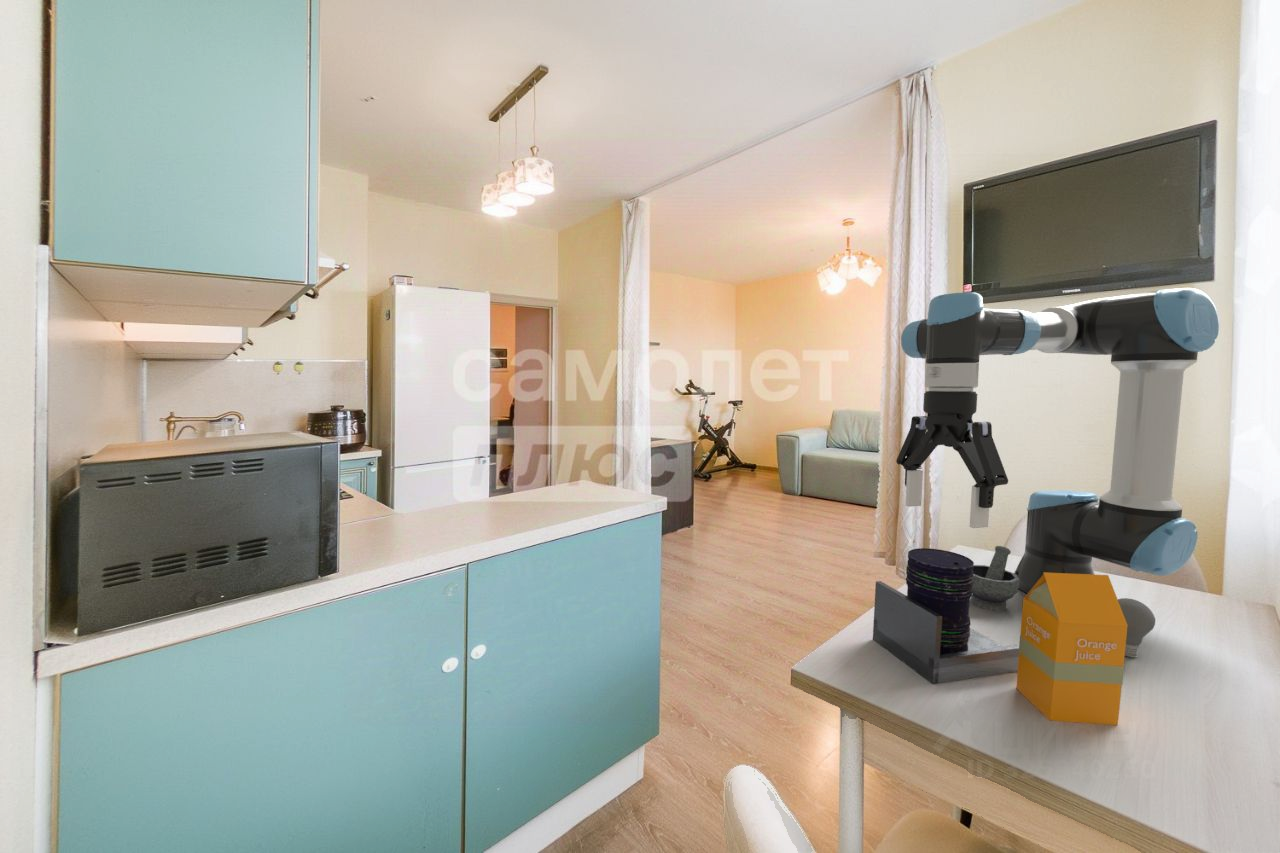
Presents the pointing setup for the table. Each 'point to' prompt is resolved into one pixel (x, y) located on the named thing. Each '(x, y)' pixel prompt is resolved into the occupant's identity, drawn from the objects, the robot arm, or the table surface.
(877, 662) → the table surface
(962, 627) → the dark navy cylinder
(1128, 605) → the light bulb
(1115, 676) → the orange juice
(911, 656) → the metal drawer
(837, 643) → the table surface
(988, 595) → the mortar and pestle
